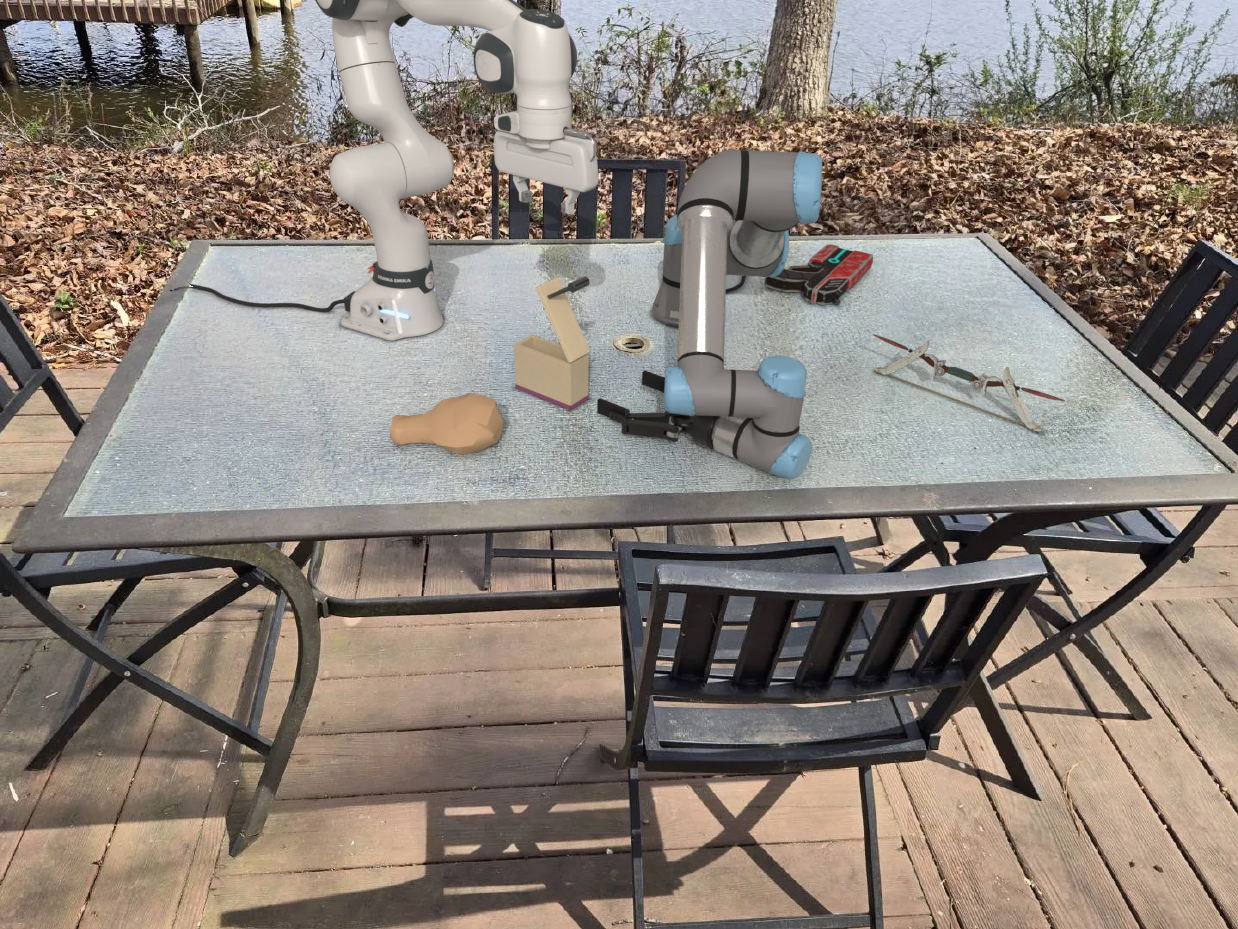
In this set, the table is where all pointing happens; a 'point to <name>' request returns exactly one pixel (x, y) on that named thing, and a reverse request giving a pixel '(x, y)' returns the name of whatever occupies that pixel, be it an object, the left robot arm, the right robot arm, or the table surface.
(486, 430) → the squash
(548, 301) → the lid
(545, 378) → the chest
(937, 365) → the bow
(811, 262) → the gun
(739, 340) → the table surface
